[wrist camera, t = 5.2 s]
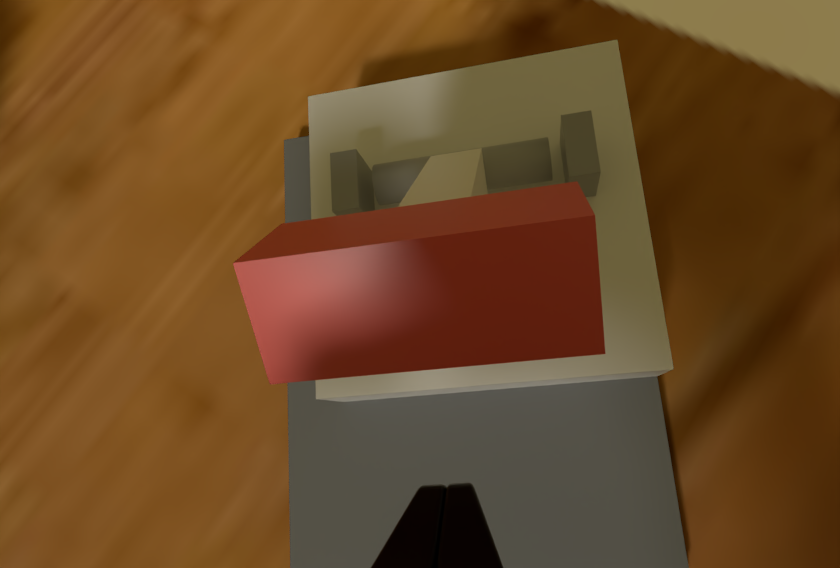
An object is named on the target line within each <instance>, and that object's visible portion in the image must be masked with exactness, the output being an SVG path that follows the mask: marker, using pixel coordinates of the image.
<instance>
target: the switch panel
mask: <svg viewBox="0 0 840 568" xmlns="http://www.w3.org/2000/svg"><path fill="white" fill-rule="evenodd" d="M308 112H309V136H304V137H299V138H293V139H287V140H284V164H285V223H291V222H297V221H304V220H311V219H318V218H325V217H332V216H339V215H346V214H353V213H360V212H367V211H374V210H381V209H388V208H395V207H398V206H399V204H400V203H401V202H400V203H393V204H386V205H379V204H378V202H377V200H376V197H375V193H374V189H373V183H372V167H373V165H375V164H381V163H387V162H394V161H400V160H406V159H413V158H419V157H425V156H432V155H438V154H444V153H450V152H457V151H463V150H469V149H476V148H482V147H488V146H495V145H501V144H507V143H514V142H520V141H526V140H532V139H539V138H545V137H548V141H549V147H550V155H551V164H552V181H545V182H538V183H531V184H524V185H517V186H511V187H504V188H497V189H490V190H487V192H488V194H492V193H499V192H506V191H513V190H520V189H527V188H534V187H541V186H548V185H555V184H562V183H569V182H576V181H577V182H578V184H579V186H580V187H581V189H582V191H583V193H584V195H585V197H586V199H587V201H588V203H589V204H590V206H591V208H592V210H593V212H594V214H595V220H596V233H597V247H598V260H599V273H600V287H601V300H602V314H603V327H604V340H605V354H600V355H589V356H578V357H567V358H555V359H544V360H533V361H522V362H511V363H500V364H489V365H478V366H467V367H456V368H445V369H434V370H422V371H411V372H400V373H389V374H378V375H367V376H356V377H345V378H334V379H323V380H312V381H300V382H289V383H288V436H289V504H290V568H371V567H372V565H373V563H374V562H375V560H376V558H377V557H378V555H379V553H380V552H381V550H382V548H383V547H384V545H385V543H386V542H387V540H388V538H389V537H390V535H391V533H392V532H393V530H394V528H395V527H396V525H397V523H398V522H399V520H400V518H401V516H402V515H403V513H404V511H405V510H406V508H407V506H408V505H409V503H410V501H411V500H412V498H413V496H414V495H415V493H416V491H417V490H418V488H419V487H421V486H422V485H430V484H444V485H446V487H447V486H448V485H449V484H451V483H467V482H469V483H472V484H473V486H474V488H475V490H476V493H477V496H478V499H479V501H480V504H481V507H482V510H483V512H484V515H485V518H486V521H487V523H488V526H489V529H490V532H491V534H492V537H493V540H494V543H495V546H496V548H497V551H498V554H499V557H500V559H501V562H502V565H503V568H689V567H688V561H687V555H686V549H685V542H684V536H683V530H682V524H681V518H680V512H679V506H678V500H677V494H676V488H675V481H674V475H673V469H672V463H671V457H670V451H669V445H668V439H667V433H666V426H665V420H664V414H663V408H662V402H661V396H660V390H659V384H658V378H657V376H659V375H661V374H664V373H666V372H668V371H671V370H673V369H674V368H673V362H672V356H671V350H670V344H669V338H668V333H667V327H666V321H665V315H664V309H663V303H662V297H661V292H660V286H659V280H658V274H657V268H656V262H655V257H654V251H653V245H652V239H651V233H650V227H649V221H648V216H647V210H646V204H645V198H644V192H643V186H642V181H641V175H640V169H639V163H638V157H637V151H636V145H635V140H634V134H633V128H632V122H631V116H630V110H629V105H628V99H627V93H626V87H625V81H624V75H623V69H622V64H621V58H620V52H619V46H618V40H612V41H607V42H601V43H596V44H591V45H585V46H580V47H574V48H569V49H563V50H558V51H553V52H547V53H542V54H536V55H531V56H526V57H520V58H515V59H509V60H504V61H498V62H493V63H488V64H482V65H477V66H471V67H466V68H461V69H455V70H450V71H444V72H439V73H433V74H428V75H423V76H417V77H412V78H406V79H401V80H396V81H390V82H385V83H379V84H374V85H368V86H363V87H358V88H352V89H347V90H341V91H336V92H331V93H325V94H320V95H314V96H309V97H308Z"/></svg>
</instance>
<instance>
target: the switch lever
mask: <svg viewBox="0 0 840 568" xmlns="http://www.w3.org/2000/svg"><path fill="white" fill-rule="evenodd" d="M545 181H552V164H551V155H550V147H549V141H548V137H545V138H539V139H532V140H526V141H520V142H514V143H507V144H501V145H495V146H488V147H482V148H476V149H469V150H463V151H457V152H450V153H444V154H438V155H432V156H425V157H419V158H413V159H406V160H400V161H394V162H387V163H381V164H375V165H373V167H372V183H373V189H374V193H375V197H376V200H377V202H378V204H379V205H386V204H393V203H400V202H401V203H400V204H399V206H398V207H395V208H388V209H381V210H374V211H367V212H360V213H353V214H346V215H339V216H332V217H325V218H318V219H311V220H304V221H297V222H291V223H284V224H281V225H279V226H278V227H277V228H276V229H274V230H273V231H272V232H271V233H270V234H268V235H267V236H266V237H265V238H263V239H262V240H261V241H260V242H258V243H257V244H256V245H255V246H254V247H252V248H251V249H250V250H249V251H247V252H246V253H245V254H244V255H242V256H241V257H240V258H239V259H237V260H236V261H235V262H234V263H233V265H234V268H235V271H236V275H237V278H238V281H239V284H240V288H241V291H242V294H243V298H244V301H245V304H246V307H247V311H248V314H249V317H250V320H251V324H252V327H253V330H254V334H255V337H256V340H257V343H258V347H259V350H260V353H261V356H262V360H263V363H264V366H265V370H266V373H267V376H268V379H269V383H270V384H278V383H289V382H300V381H312V380H323V379H334V378H345V377H356V376H367V375H378V374H389V373H400V372H411V371H422V370H434V369H445V368H456V367H467V366H478V365H489V364H500V363H511V362H522V361H533V360H544V359H555V358H567V357H578V356H589V355H600V354H605V340H604V327H603V314H602V300H601V287H600V273H599V260H598V247H597V233H596V220H595V214H594V212H593V210H592V208H591V206H590V204H589V203H588V201H587V199H586V197H585V195H584V193H583V191H582V189H581V187H580V186H579V184H578V182H577V181H576V182H569V183H562V184H555V185H548V186H541V187H534V188H527V189H520V190H513V191H506V192H499V193H492V194H488V192H487V190H490V189H497V188H504V187H511V186H517V185H524V184H531V183H538V182H545Z"/></svg>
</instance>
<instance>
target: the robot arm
mask: <svg viewBox="0 0 840 568" xmlns="http://www.w3.org/2000/svg"><path fill="white" fill-rule="evenodd" d="M371 568H503V565H502V562H501V559H500V557H499V554H498V551H497V548H496V546H495V543H494V540H493V537H492V534H491V532H490V529H489V526H488V523H487V521H486V518H485V515H484V512H483V510H482V507H481V504H480V501H479V499H478V496H477V493H476V490H475V488H474V486H473V484H472V483H469V482H467V483H451V484H449V485H448V486H447V487H446V485H444V484H430V485H422V486H421V487H419V488H418V490H417V491H416V493H415V495H414V496H413V498H412V500H411V501H410V503H409V505H408V506H407V508H406V510H405V511H404V513H403V515H402V516H401V518H400V520H399V522H398V523H397V525H396V527H395V528H394V530H393V532H392V533H391V535H390V537H389V538H388V540H387V542H386V543H385V545H384V547H383V548H382V550H381V552H380V553H379V555H378V557H377V558H376V560H375V562H374V563H373V565H372V567H371Z"/></svg>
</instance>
